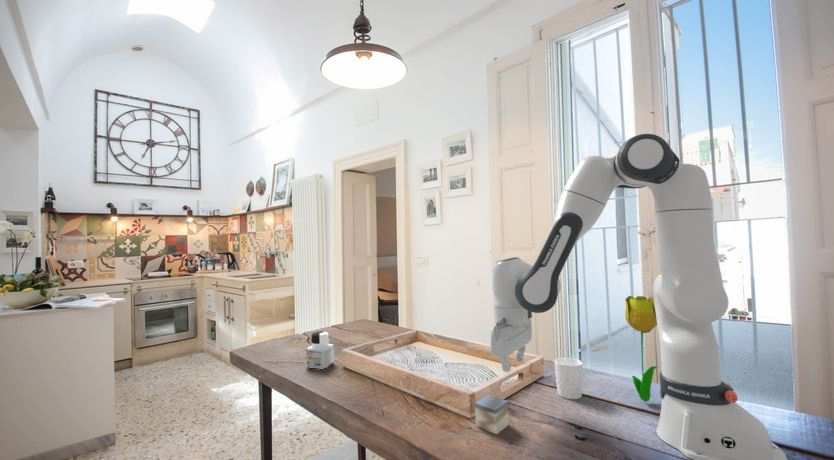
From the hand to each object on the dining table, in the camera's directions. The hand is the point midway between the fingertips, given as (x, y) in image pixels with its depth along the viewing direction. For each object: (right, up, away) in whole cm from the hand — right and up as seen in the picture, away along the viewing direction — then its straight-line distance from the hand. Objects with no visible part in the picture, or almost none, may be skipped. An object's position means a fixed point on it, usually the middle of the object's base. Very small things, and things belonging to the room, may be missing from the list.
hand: (513, 365), depth 101 cm
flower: (+38, -11, +2) cm, 40 cm away
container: (-65, -16, +41) cm, 78 cm away
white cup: (+19, -12, +9) cm, 24 cm away
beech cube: (-8, -6, -9) cm, 13 cm away
